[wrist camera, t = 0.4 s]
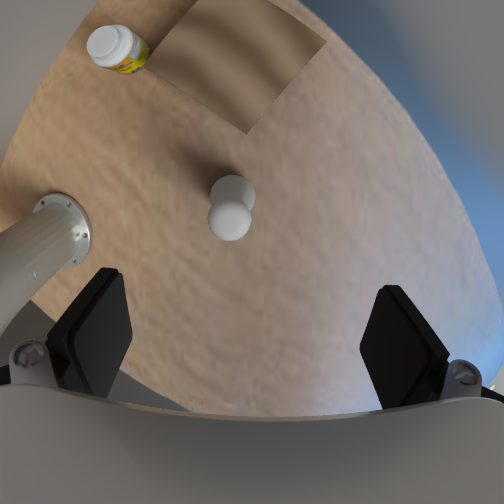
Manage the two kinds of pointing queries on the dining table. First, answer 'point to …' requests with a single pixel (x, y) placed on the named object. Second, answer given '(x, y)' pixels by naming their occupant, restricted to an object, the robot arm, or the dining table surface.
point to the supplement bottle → (118, 49)
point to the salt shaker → (230, 207)
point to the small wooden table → (234, 56)
